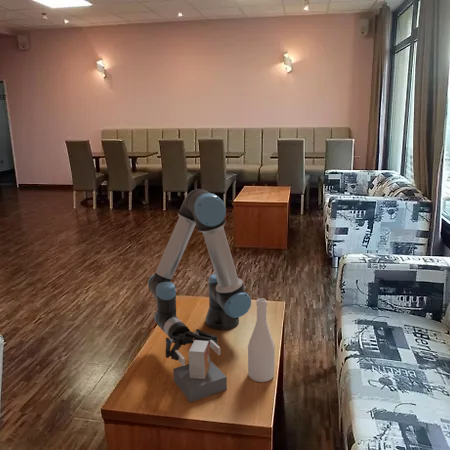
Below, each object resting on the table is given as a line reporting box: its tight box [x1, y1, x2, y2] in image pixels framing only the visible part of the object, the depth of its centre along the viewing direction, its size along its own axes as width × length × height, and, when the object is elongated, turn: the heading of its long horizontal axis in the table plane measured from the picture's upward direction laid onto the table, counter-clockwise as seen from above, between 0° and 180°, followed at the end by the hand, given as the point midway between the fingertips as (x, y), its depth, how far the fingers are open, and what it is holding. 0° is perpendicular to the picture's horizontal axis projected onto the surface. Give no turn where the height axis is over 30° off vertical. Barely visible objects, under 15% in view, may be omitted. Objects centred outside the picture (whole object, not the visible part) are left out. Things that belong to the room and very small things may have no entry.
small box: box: [188, 339, 211, 379], centre depth 157 cm, size 8×6×10 cm
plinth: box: [172, 359, 228, 403], centre depth 159 cm, size 14×14×5 cm
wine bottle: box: [247, 297, 276, 383], centre depth 161 cm, size 10×10×30 cm
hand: (202, 356), depth 154 cm, fingers open, 13 cm apart
